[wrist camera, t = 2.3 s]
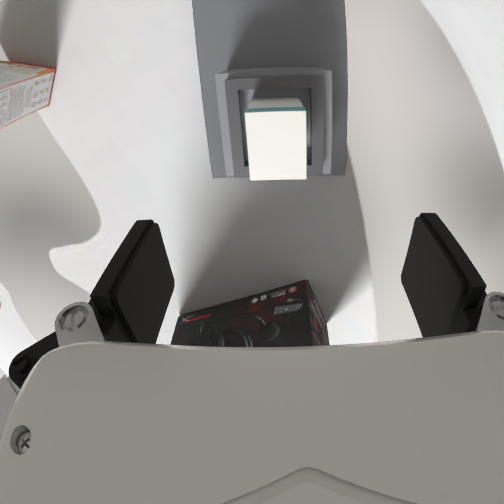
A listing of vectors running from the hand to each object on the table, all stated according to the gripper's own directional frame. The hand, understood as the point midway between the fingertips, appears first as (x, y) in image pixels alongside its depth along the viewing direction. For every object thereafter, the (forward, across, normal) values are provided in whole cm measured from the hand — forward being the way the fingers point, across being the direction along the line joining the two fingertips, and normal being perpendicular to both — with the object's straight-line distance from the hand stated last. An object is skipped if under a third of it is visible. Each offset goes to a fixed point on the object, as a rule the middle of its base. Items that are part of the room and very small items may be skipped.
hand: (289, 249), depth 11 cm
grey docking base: (+27, 0, -9) cm, 28 cm away
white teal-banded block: (+19, 0, 0) cm, 19 cm away
